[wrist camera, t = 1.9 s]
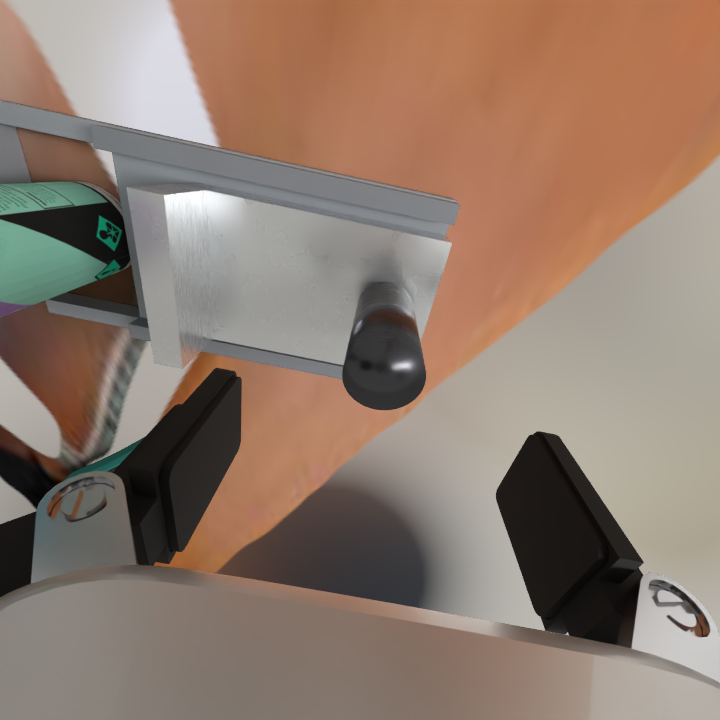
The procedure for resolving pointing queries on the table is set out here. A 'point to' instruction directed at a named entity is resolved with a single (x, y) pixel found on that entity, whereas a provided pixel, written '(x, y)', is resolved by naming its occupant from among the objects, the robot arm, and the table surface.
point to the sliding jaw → (287, 284)
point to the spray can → (57, 240)
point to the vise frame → (221, 169)
